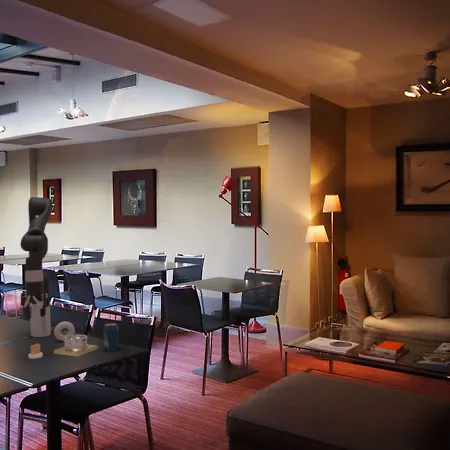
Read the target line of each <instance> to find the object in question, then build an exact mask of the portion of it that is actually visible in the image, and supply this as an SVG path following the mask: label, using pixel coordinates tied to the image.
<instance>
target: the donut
mask: <svg viewBox="0 0 450 450" xmlns="http://www.w3.org/2000/svg"><path fill="white" fill-rule="evenodd" d="M63 329H66V330H67V333H65V334H63V333H62V331H63ZM75 331H76V330H75V326H74V324H73V323H72V322H70V321H61V322H59V323H57V325H56V326H55V327H54V331H53V334H54V337H55V338H56V339H57V340H58V341H61V342H64V338H65V337H67V336H71V335H75V333H76V332H75Z"/></svg>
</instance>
